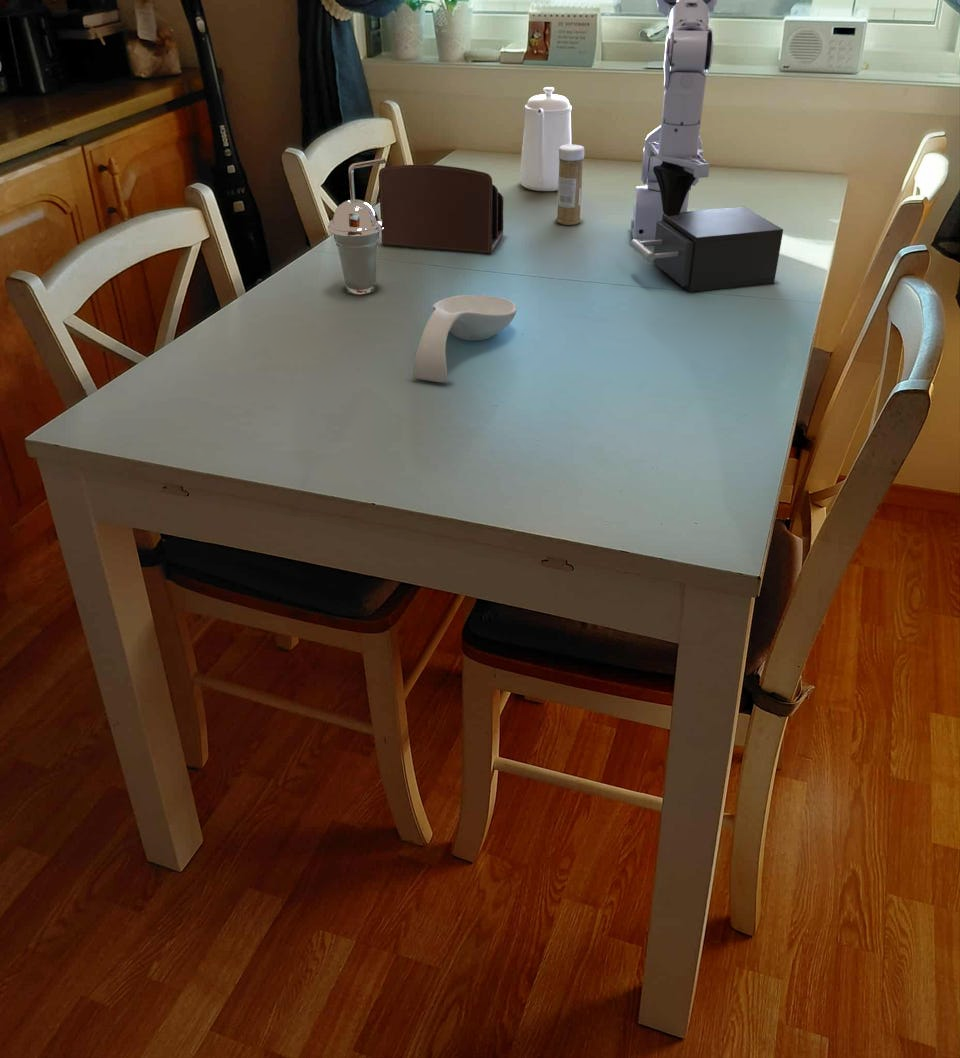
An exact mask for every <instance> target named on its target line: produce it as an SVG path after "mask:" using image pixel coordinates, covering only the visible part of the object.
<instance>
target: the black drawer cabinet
mask: <svg viewBox="0 0 960 1058" xmlns="http://www.w3.org/2000/svg"><path fill="white" fill-rule="evenodd" d="M662 221H665V222H666V223H667V224H669V225H670V226H673V227H675V228H676V229H678V230H679V231H680V232H682V233H683V234H685V235H686V236H687V237H689V238H690V239H692V240H693V241H694V246H693V254H692V263H691V271H690V279H689V285H687V286H682V287H683V288H684V289H686V290H687V291H688V292H689V293H696V292H704V291H705V292H706V291H712V290H713V291H714V290H722V289H723V290H724V289H733V288H741V287H750V286H751V287H752V286H759V285H769V284H775V280H776V274H777V269H778V263H779V257H780V251H781V246H782V239H783V233H784V229H783V228H782V227H780V226H778V225H777V224H775V223H773V222H772V221H770V220H768V219H766V218H765V217H763V216H762V215H760V214H758V213H756V212H754V211H753V210H752V209H750V208H749V207H746V206H734V207H723V208H711V209H701V210H689V211H688V210H687V212H680V213H679V215H675V216H666V215H665V214H663V216H662Z"/></svg>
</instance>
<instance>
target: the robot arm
mask: <svg viewBox="0 0 960 1058" xmlns="http://www.w3.org/2000/svg"><path fill="white" fill-rule="evenodd" d="M717 2H718V0H656V5H657V12H659V13H660V14H663V15H664V16H666V17H667V22H668V34H667V35H666V38H665V48H664V57H663V58H664V59H663V73H664V80H663V88H664V91H663V101H662V112H661V120H660V121H661V122H660V125H659V126H658V127H656V128H655V129H654V130H652V131H651V132H649V133H648V134H647V135H646V138H645V139H644V145H643V146H644V147H643V150H642V162H641V174H640V181H641V182H642V184H643V185H640V186H636V187H635V189H634V190H635V192H634V200H633V212H632V218H631V220H630V221H631V222H630V230H631V234H632V240H633V239H636V240H638V241H639V242H640V241H650V240H655V234H656V224H657V221H662V216H663V214H665V215H666V216H675V215H679V213H680V212H688V207H689V198H690V191H691V190H692V186H693V187H695V186H696V185H697V184H698V183H699V181H700V179H702V178H708V177H709V175H710V166H711V163H710V162H708V161H706V160H705V159H704V158H703V156H704V150H702V147H703V146H702V145H703V140H702V138H701V135H700V133H701V125H702V117H703V116H702V115H703V109H704V99H705V89H706V83H707V82H706V81H707V76H709V73H710V70H711V67H712V62H713V54H714V30H713V29H712V28H710V14H711V13H713V12H714V10H715V6H717ZM704 71H705V72H706V74H705V73H704ZM706 75H707V76H706Z"/></svg>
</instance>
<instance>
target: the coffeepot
mask: <svg viewBox="0 0 960 1058" xmlns="http://www.w3.org/2000/svg"><path fill="white" fill-rule="evenodd" d="M543 92H544V93H542V94H536V95H533V96H531V97H530V98H529V99H528V101H527V103H526V104H525V105H524V112H525V113H524V114H525V115H524V125H523V135H522V149H521V158H520V170H519V183H520V185H521V186H522V187H524V188H525V189H528V190H531V191H536V192H555V191H556V192H558V178H559V163H560V162H559V148H560V147H561V146H563V145H573V143H572V116H571V115H572V114H571V113H572V110H573V109H572V108H573V106H572V104H570V101H569V99H568V98H567V97H566V96H565V95H561V94H554V93H553V92H555V87H553V86H545V87H543Z"/></svg>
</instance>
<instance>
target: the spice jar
mask: <svg viewBox="0 0 960 1058" xmlns="http://www.w3.org/2000/svg"><path fill="white" fill-rule="evenodd" d="M584 159H585V147H584V146H583V145H580V144H572V145H563V146H561V147H560V148H559V162H560V163H559V178H558V190H557V216H556V222H557V223H558V224H560V225H563V226H574V225H578V224H580V223H581V221H582V218H581V210H582V197H583V196H582V195H583V194H582V193H583V162H584Z"/></svg>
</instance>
